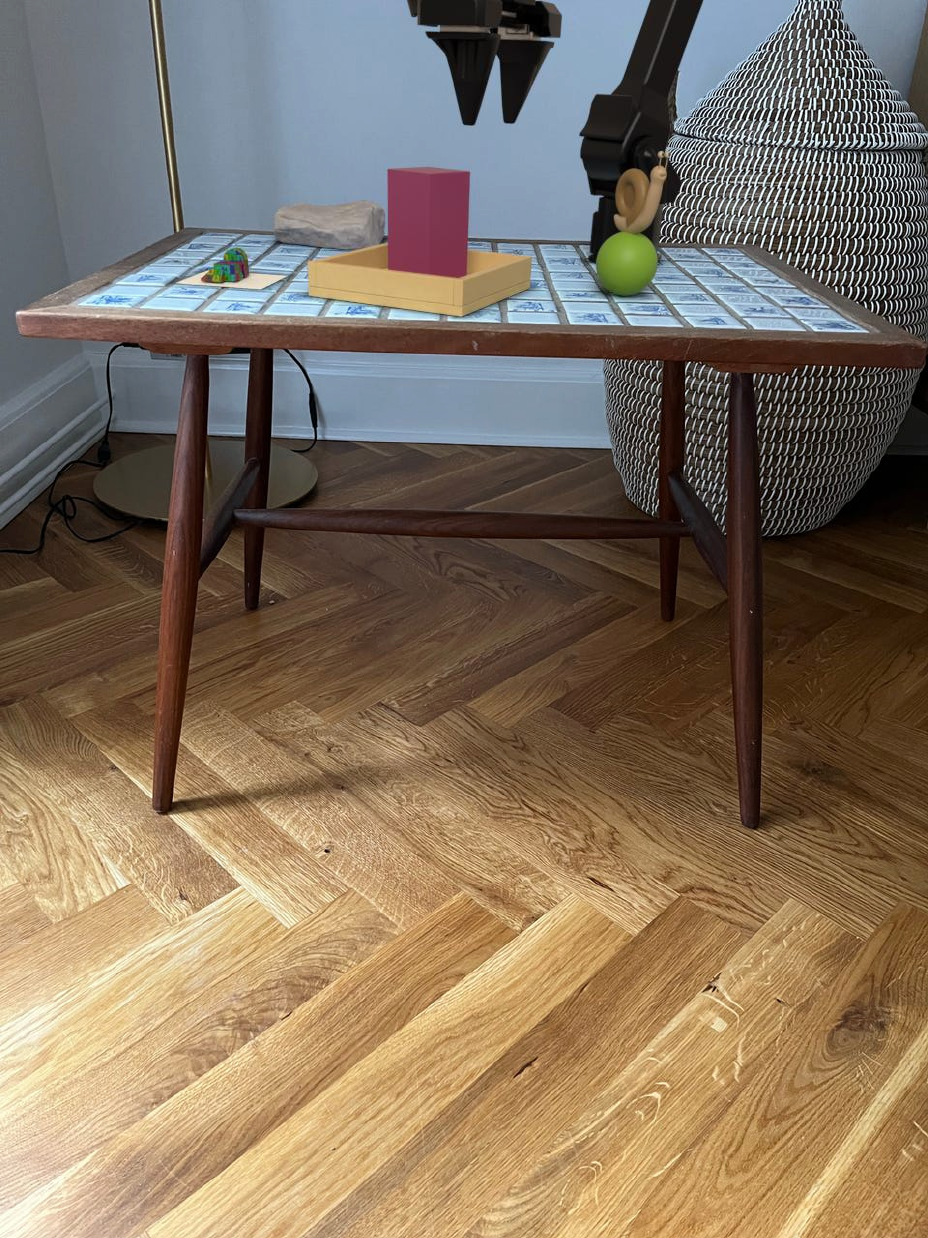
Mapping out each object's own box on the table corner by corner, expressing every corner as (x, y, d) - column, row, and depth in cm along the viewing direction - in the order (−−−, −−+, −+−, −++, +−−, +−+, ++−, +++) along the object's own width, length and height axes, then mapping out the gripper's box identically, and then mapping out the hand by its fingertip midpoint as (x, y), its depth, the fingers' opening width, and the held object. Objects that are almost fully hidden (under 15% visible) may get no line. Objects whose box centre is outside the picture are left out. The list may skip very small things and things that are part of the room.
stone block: (374, 267, 104) (389, 235, 112) (370, 222, 101) (386, 192, 109) (269, 265, 105) (290, 234, 113) (262, 221, 102) (284, 191, 110)
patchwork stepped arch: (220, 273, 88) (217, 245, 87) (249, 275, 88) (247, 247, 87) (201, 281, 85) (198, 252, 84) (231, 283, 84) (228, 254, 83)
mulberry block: (427, 273, 88) (428, 166, 84) (466, 281, 85) (470, 171, 81) (387, 279, 85) (387, 168, 80) (427, 288, 82) (429, 173, 77)
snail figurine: (622, 305, 82) (639, 150, 76) (581, 291, 87) (594, 145, 81) (672, 301, 85) (692, 151, 79) (629, 287, 90) (645, 145, 84)
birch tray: (530, 288, 88) (532, 256, 86) (461, 316, 76) (462, 280, 75) (392, 271, 93) (391, 240, 92) (308, 295, 81) (306, 261, 80)
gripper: (460, -66, 91) (455, 118, 99) (360, -98, 76) (363, 121, 84) (570, -68, 87) (556, 124, 95) (486, -103, 72) (478, 128, 80)
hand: (489, 124), depth 88 cm, fingers open, 9 cm apart
